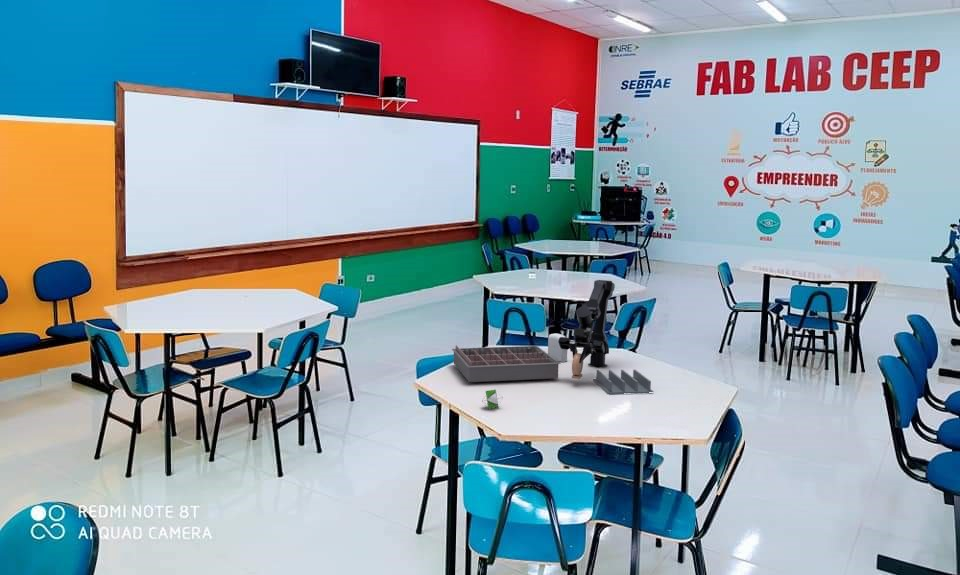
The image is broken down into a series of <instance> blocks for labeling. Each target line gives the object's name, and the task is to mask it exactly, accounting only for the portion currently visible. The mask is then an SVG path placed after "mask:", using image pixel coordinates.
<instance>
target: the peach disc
mask: <svg viewBox="0 0 960 575" xmlns="http://www.w3.org/2000/svg"><path fill="white" fill-rule="evenodd" d="M581 354H582V353H578V352H577V353H575V355H574V357H573V356H572V362H571V363H572V364H571V372H572V375H571V379H575V380H576V379H577V380H580V379H582V377H583V373H582V371H583V367H584V360H583V361H582V362H581V363H579V361H580V357H581Z"/></svg>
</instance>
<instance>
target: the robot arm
mask: <svg viewBox="0 0 960 575" xmlns="http://www.w3.org/2000/svg"><path fill="white" fill-rule="evenodd" d="M615 284H616V283H614V282H613V280H608V279H607V280H606V279H605V280H604V279H603V280H602V279H596V280H594V282H593V288H592V291H591V294H590V296H589V299H588V300H587V301H585V302H584V303H583V304H582V306H580V307H578V308H576V311H575V313H576V318H577V320H578V324H579V327H574V328H573V339H574V340H572V339H570V338H569V337H567V336H565V337H560V338H559V341H558V342H559V345H560V348H561V349H566V350H567V351H568V350H570V352H572V358H573V357H574V355H575V353H578V349H577V348H582V351H581V353H580V354H581V357H580V361H579V363H581V362H582V361H583V362H584V360H586V358H587V357H589V356H590V358H589V360H590V361H589V363H587V365H588V366H589V367H593V368H598V369H599V368H602V367H603V368H604V367H608V364H606V355H608V354H610V347H609V343H608V337H607V335H606V333H605V329H606V319H607V312H608V311H607V310H608V304H609V303H608V302H609V300H610V299H611V297H612V296H613V292H615V288H616V287H615V286H616V285H615ZM594 320H595V322H594Z"/></svg>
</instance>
